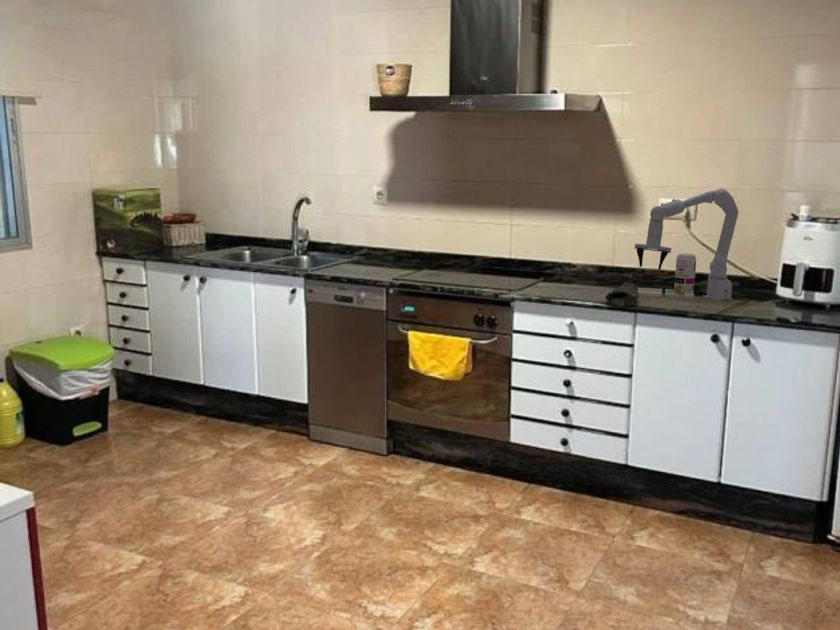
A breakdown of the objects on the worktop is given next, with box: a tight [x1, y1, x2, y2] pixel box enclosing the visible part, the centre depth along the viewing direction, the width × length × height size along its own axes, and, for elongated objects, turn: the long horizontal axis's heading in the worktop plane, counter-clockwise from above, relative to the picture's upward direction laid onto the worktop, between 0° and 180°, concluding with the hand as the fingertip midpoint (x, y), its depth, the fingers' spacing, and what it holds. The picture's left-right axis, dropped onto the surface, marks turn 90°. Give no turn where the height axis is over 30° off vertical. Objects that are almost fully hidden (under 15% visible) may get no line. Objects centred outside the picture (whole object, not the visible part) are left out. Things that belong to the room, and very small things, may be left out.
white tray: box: [637, 287, 663, 298], centre depth 344 cm, size 11×11×2 cm
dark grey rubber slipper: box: [605, 281, 640, 308], centre depth 331 cm, size 13×7×25 cm
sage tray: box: [665, 288, 695, 300], centre depth 341 cm, size 11×11×2 cm
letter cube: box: [673, 285, 685, 295], centre depth 340 cm, size 4×4×4 cm
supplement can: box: [674, 253, 697, 291], centre depth 354 cm, size 8×8×15 cm
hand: (650, 267), depth 343 cm, fingers open, 7 cm apart
